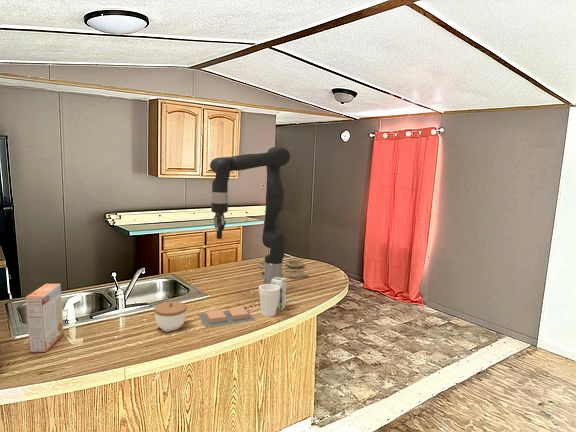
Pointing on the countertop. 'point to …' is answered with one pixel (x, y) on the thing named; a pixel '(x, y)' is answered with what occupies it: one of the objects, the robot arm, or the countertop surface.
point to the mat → (228, 321)
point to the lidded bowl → (170, 315)
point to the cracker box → (44, 317)
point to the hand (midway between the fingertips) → (219, 238)
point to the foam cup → (269, 299)
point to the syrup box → (282, 295)
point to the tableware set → (292, 264)
